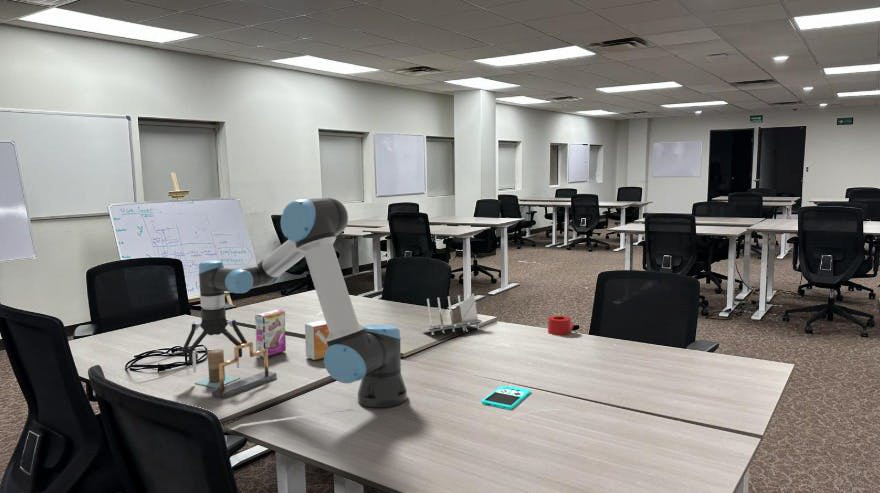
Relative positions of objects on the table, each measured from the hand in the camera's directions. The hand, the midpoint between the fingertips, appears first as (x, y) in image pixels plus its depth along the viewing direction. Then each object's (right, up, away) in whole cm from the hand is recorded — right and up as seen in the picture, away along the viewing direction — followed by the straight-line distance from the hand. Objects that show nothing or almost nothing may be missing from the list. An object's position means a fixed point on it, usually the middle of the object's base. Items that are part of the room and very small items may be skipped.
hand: (216, 369), depth 198 cm
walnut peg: (0, -4, +1) cm, 4 cm away
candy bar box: (+10, -1, +31) cm, 33 cm away
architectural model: (+82, +3, +59) cm, 101 cm away
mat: (0, -4, +1) cm, 4 cm away
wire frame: (+11, -5, -5) cm, 13 cm away
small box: (+29, -1, +27) cm, 40 cm away
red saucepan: (+129, +4, +61) cm, 143 cm away
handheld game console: (+96, -6, -16) cm, 97 cm away
